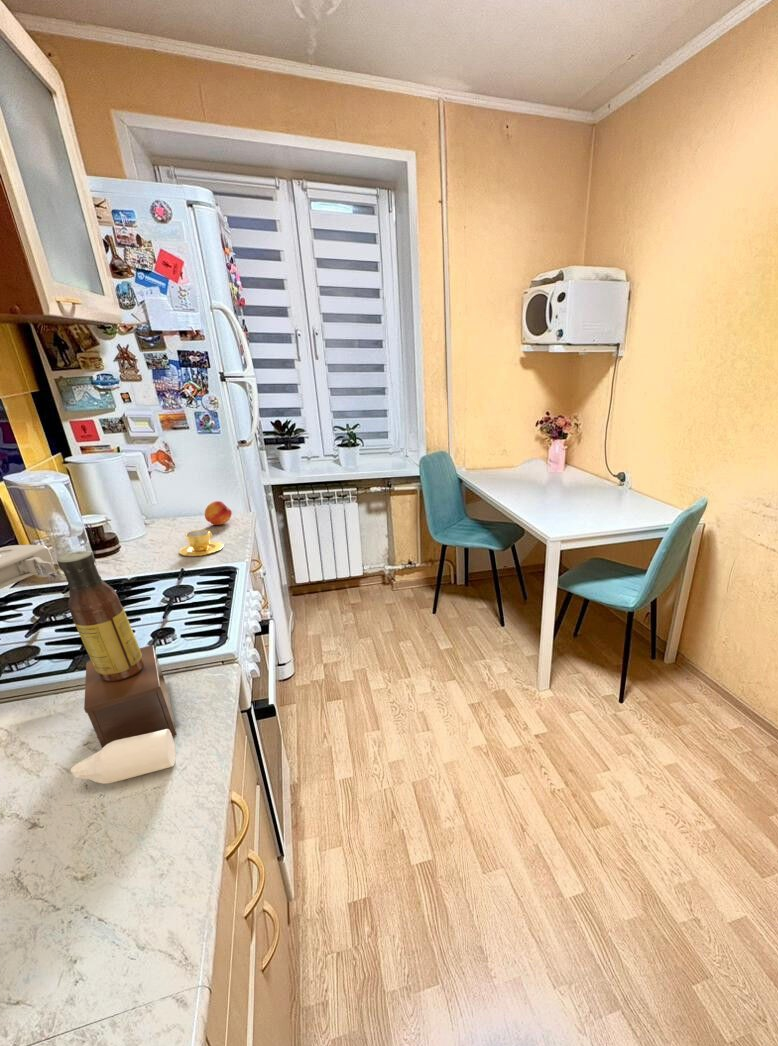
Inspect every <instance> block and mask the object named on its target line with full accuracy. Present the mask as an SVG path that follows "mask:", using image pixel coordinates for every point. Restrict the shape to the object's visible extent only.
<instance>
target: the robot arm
mask: <svg viewBox="0 0 778 1046" xmlns="http://www.w3.org/2000/svg"><path fill="white" fill-rule="evenodd" d="M54 563H55V562H54V558H53V556H52V553H51V552H50V549H49V548H48V546H46V545H44V544H14V545H7V546H1V547H0V590H2V589H4V588H7V587H9V586H11V585H13V584H16V583H18V582H20V581H22V580H26V579H28V578H30V577H32V576H35V575H36V574H37V575H38V576H42V577H43V576H44V577H48V576H50V575H52V574H55V573H56V571H57V570H56V568H55V565H54Z"/></svg>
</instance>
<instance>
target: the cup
mask: <svg viewBox="0 0 778 1046" xmlns="http://www.w3.org/2000/svg"><path fill="white" fill-rule="evenodd" d="M184 536H185V538H186V541H187V543H188V545H186V546H184V547H182V548H181V549H180V550H179V554H180V555H181V556H184V557H199V556H206V555H210V554H213V553H215V552H218V551H220V550H222V549H223V547H224V544H223V543H222V542H218V541H211V540H212V538H213V533H212V531H211V530H208V529H197V530H191V531H188V532H186V533H185V535H184Z"/></svg>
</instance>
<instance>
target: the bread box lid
mask: <svg viewBox="0 0 778 1046" xmlns="http://www.w3.org/2000/svg"><path fill="white" fill-rule="evenodd" d="M139 648H140V651H141V653H142V659H143V661H144V666H143V668H142V669H141V670H140V671H139V672H138V673H136V674H135V675H133V676H131V677H127V678H124V679H122V680H119V681H107V680H104V679H102V678H101V677H100V675H99V673H98V672H97V671H96V670H95V668H94V665H93V663H92V661H91V660H89V661H86V663H85V665H86V666H85V681H84V682H85V685H84V700H83V701H84V703H83V709H84V712H85V713H86V714H87V713H88V712H91V711H94V710H98V709H101V708H105V707H108V706H111V705H115V704H118V703H121V702H125V701H128V700H132V699H135V698H138V697H142V696H145V695H148V694H152V693H155V692H159V691H161V685H160V679H159V674H158V668H157V662H156V656H157V655H156V656H155V652H156V649H155V646H154V645H153V644H151V645H148V646H143V647H139Z"/></svg>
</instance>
